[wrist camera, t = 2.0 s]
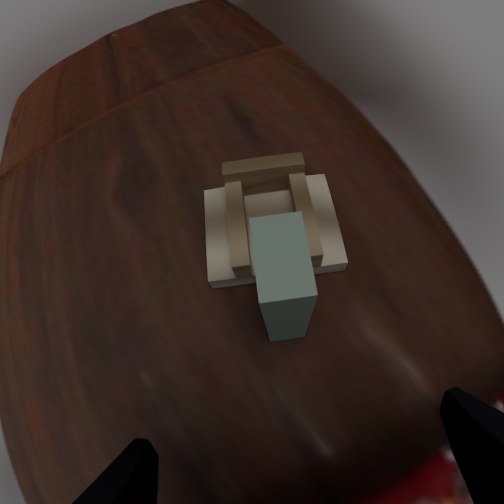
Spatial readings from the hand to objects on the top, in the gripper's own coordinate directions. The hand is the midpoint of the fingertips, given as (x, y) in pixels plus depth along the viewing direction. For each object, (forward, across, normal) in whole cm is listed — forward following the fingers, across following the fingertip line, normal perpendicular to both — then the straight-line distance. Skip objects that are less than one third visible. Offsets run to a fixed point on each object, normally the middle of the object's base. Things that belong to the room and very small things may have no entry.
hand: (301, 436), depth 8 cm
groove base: (+19, 0, 0) cm, 19 cm away
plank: (+14, 0, +4) cm, 15 cm away
